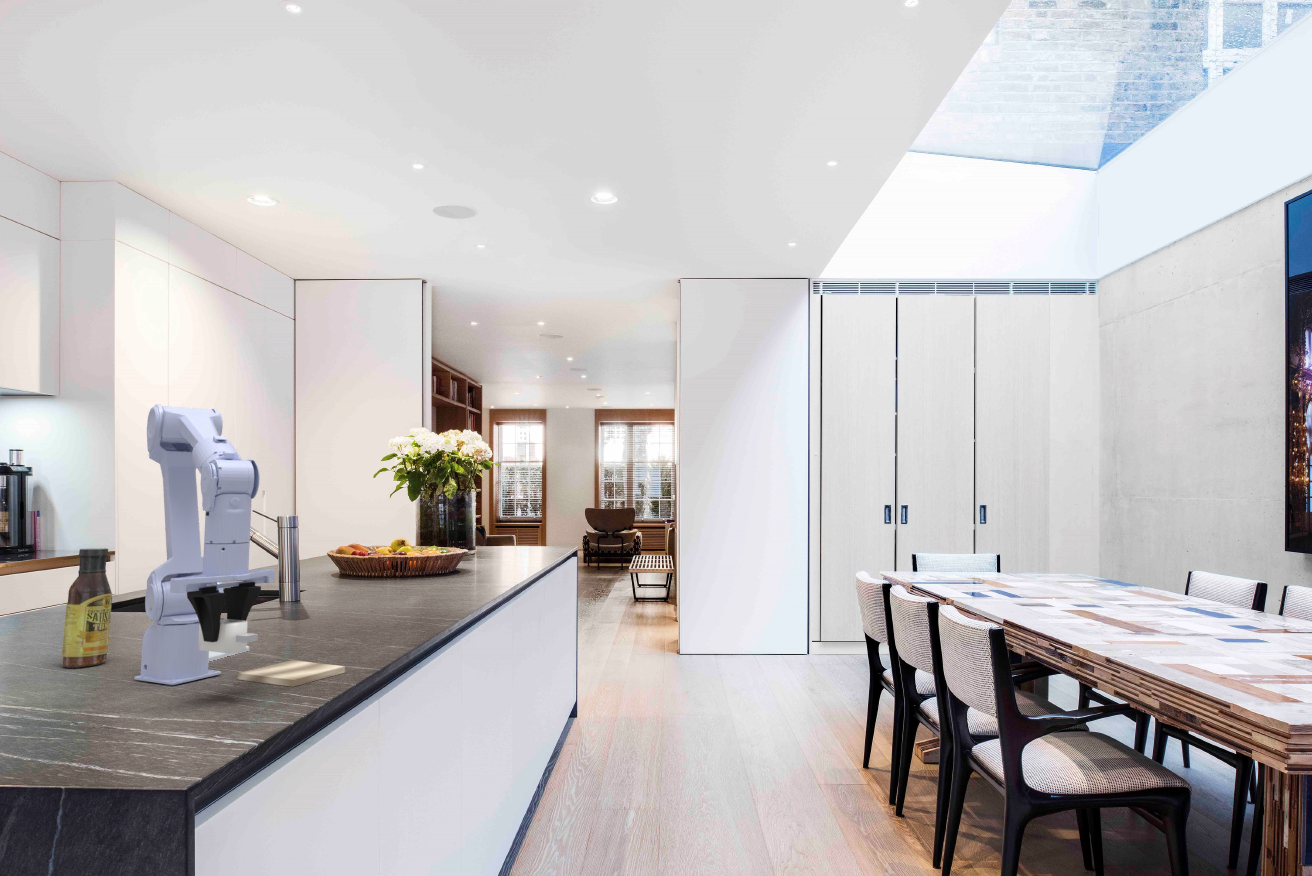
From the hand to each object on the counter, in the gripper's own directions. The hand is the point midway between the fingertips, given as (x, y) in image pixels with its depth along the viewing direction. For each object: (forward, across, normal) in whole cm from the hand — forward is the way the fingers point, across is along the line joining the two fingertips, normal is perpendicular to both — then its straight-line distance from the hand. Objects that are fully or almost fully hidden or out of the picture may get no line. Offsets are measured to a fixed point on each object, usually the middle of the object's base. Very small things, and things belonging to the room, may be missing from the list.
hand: (222, 639), depth 105 cm
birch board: (+8, +14, +2) cm, 17 cm away
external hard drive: (+9, +18, +30) cm, 36 cm away
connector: (+1, 0, 0) cm, 1 cm away
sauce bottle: (+9, +6, +42) cm, 44 cm away
